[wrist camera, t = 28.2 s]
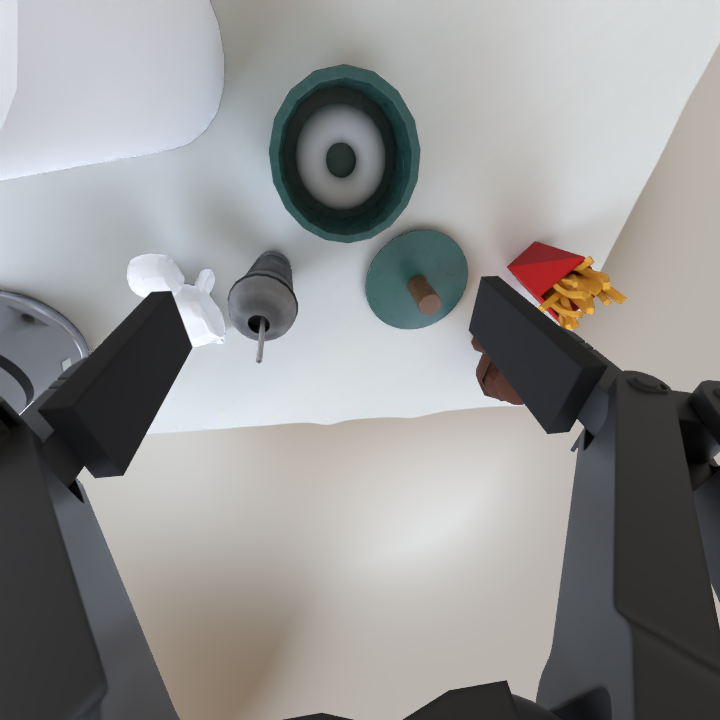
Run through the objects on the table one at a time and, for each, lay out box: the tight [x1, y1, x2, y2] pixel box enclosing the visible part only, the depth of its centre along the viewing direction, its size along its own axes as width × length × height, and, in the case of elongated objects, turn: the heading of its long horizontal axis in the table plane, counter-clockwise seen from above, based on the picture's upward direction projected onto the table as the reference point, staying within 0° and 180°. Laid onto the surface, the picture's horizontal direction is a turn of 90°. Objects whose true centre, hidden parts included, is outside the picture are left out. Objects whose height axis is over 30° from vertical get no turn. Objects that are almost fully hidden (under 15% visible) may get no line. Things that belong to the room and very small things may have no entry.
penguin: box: [127, 254, 225, 347], centre depth 41 cm, size 9×8×15 cm
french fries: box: [507, 242, 626, 330], centre depth 41 cm, size 9×8×15 cm
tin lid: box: [366, 230, 468, 329], centre depth 44 cm, size 15×15×8 cm
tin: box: [269, 64, 420, 243], centre depth 33 cm, size 14×14×8 cm
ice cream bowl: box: [471, 337, 524, 405], centre depth 49 cm, size 11×11×15 cm
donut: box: [295, 103, 386, 210], centre depth 35 cm, size 10×4×10 cm
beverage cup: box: [228, 251, 298, 363], centre depth 35 cm, size 7×7×20 cm
